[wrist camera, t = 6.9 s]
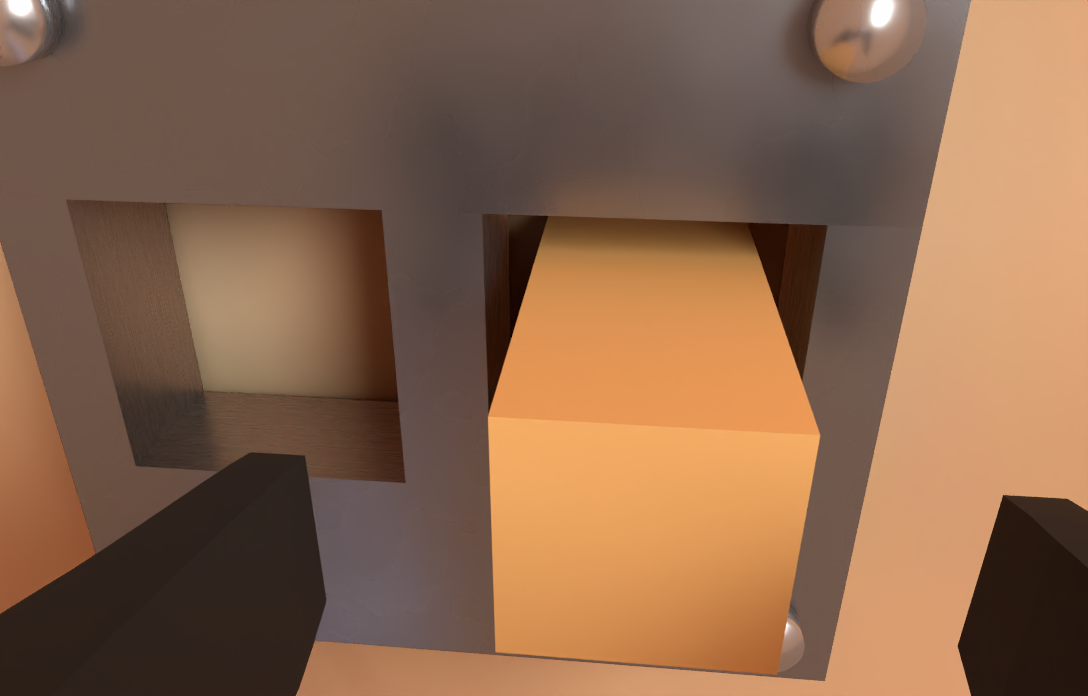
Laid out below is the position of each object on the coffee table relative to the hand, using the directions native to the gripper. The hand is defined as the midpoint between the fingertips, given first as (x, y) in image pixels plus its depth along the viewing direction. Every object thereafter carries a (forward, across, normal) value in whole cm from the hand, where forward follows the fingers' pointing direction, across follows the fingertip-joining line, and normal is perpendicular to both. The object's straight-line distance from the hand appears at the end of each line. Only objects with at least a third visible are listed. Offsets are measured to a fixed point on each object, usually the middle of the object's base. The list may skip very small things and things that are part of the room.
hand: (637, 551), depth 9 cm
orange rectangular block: (+6, 0, 0) cm, 6 cm away
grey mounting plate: (+6, +3, 0) cm, 7 cm away
